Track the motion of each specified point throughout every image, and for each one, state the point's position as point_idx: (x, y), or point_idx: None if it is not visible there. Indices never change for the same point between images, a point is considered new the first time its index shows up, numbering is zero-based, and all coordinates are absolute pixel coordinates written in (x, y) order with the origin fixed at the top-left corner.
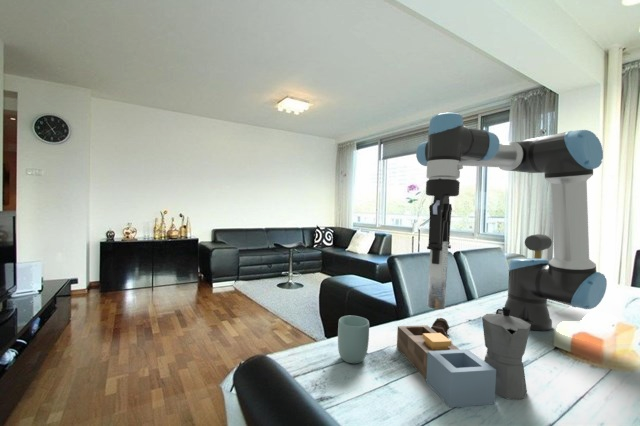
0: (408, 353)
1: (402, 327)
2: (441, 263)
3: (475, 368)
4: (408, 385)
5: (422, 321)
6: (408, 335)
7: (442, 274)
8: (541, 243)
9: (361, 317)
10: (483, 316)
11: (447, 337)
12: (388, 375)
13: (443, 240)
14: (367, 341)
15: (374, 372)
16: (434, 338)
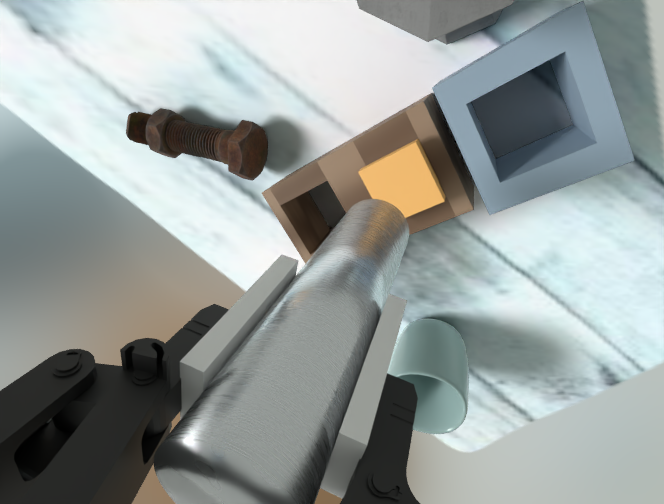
0: None
1: None
2: (388, 364)
3: (587, 77)
4: (516, 227)
5: (137, 176)
6: None
7: (372, 300)
8: None
9: None
10: (415, 32)
11: (246, 122)
12: (481, 267)
13: (137, 450)
14: (439, 343)
15: (476, 294)
16: (413, 194)
